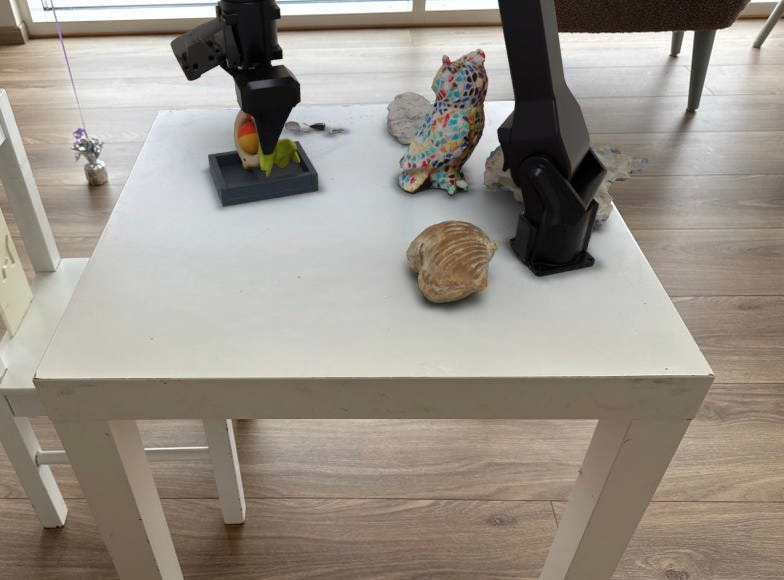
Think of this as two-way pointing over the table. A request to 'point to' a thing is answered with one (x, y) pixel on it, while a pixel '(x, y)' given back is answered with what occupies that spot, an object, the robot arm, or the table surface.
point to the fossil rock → (616, 171)
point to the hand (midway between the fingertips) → (259, 137)
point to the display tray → (260, 178)
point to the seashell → (451, 260)
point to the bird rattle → (250, 144)
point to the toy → (315, 126)
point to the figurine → (448, 127)
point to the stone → (406, 115)
